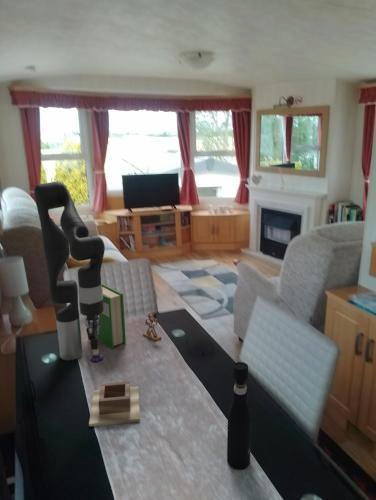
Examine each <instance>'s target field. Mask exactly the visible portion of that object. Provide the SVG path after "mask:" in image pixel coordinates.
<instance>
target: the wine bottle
mask: <svg viewBox="0 0 376 500" xmlns="http://www.w3.org/2000/svg"><path fill="white" fill-rule="evenodd" d="M232 371H233V379H235V384H234V386H233V391H232V401H231V403H230V406H229V409H228V414H227V434H226V435H227V440H226V441H227V442H226V443H227V444H226V447H227V448H226V462H227V464H228V466H229V467H231V468H232V469H234V470H237V471H242V470H245V469H247V468H249V466H250V464H251V445H252V444H251V443H252V414H251V407H250V405H249V403H248V402H249V401H248V391H247V384H246V380H248V379H249V365H248V364H247V363H246V362H242V361H240V362H239V361H237V362H235V363H234V364H233V369H232Z"/></svg>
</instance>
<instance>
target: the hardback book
mask: <svg viewBox="0 0 376 500" xmlns="http://www.w3.org/2000/svg"><path fill="white" fill-rule="evenodd" d="M101 285H102V290H103V303H104V311H103V312H102V313H101V314H99V317H100V319H99V321H100V325H99V331H98V332H99V334H98V341H99V342H100V343H102V344H103V345H105V346H107V348H109V349H111V350H113V349H114V346H115V347H116V346H117V345H120V344H123V345H126V344H127V341H126V323H125V322H126V321H125V304H124V303H125V302H124V293H122V292H121V291H118V290H116V289H114V288H112V287H110V286H108V285H106V284H104V283H101Z"/></svg>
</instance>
